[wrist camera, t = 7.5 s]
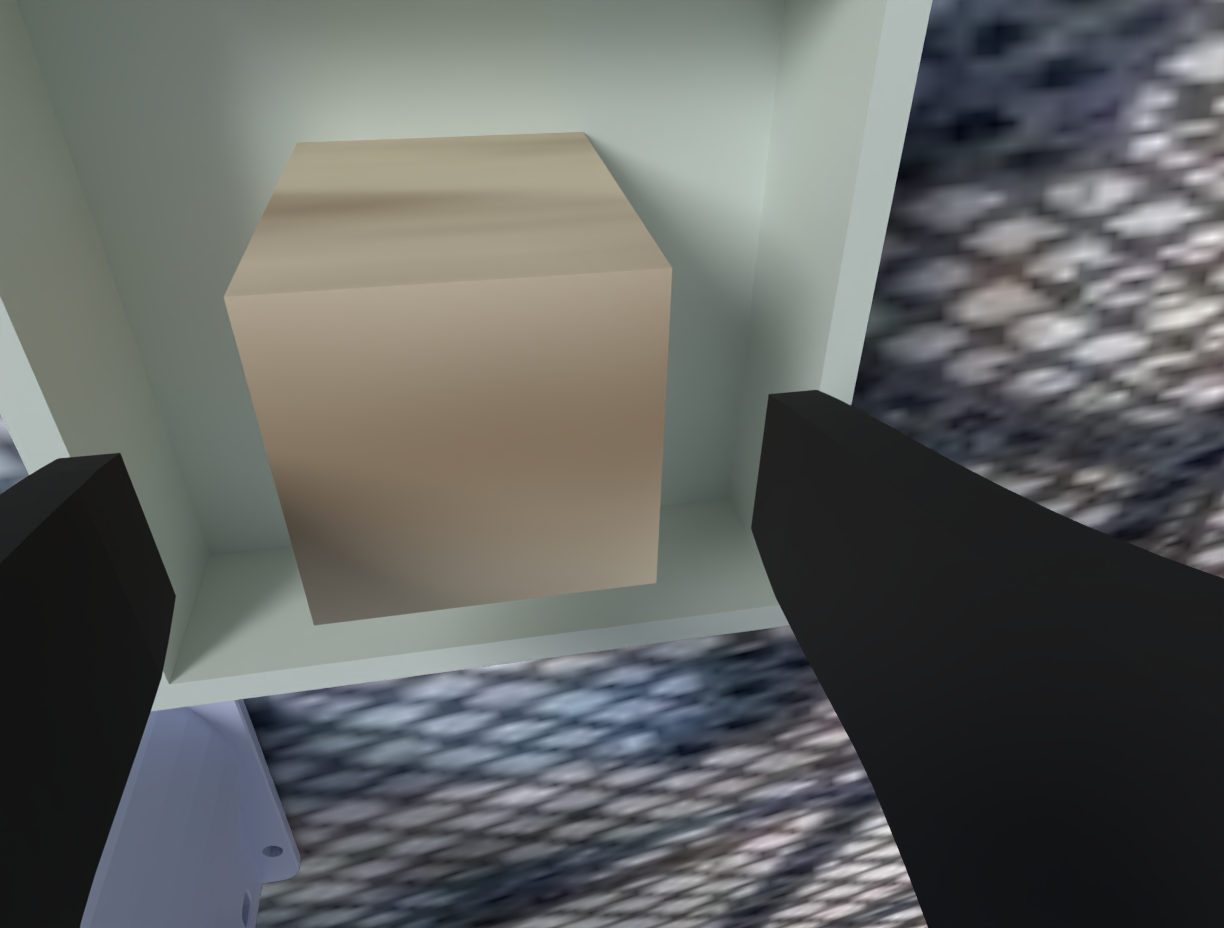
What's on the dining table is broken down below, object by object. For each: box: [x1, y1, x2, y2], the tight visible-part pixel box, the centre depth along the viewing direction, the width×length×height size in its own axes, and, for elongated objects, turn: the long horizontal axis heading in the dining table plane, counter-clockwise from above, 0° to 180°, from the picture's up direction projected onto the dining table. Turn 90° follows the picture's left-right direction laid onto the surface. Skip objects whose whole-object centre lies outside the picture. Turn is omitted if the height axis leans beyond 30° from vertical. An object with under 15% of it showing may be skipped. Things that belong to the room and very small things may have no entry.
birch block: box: [224, 132, 672, 626], centre depth 12 cm, size 4×4×6 cm
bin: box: [0, 0, 932, 711], centre depth 14 cm, size 12×12×4 cm
